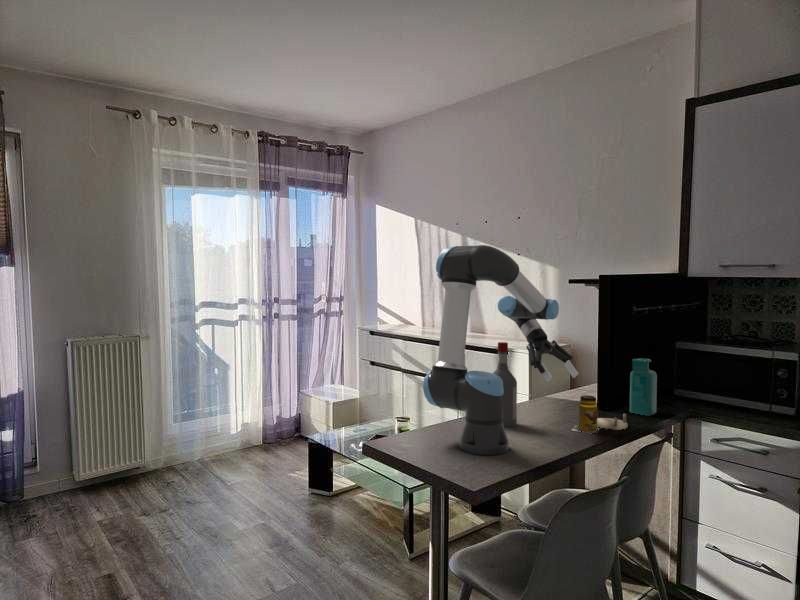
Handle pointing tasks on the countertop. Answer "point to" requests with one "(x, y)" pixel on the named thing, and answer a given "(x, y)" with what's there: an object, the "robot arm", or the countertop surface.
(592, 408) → the condiment
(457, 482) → the countertop surface
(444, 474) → the countertop surface
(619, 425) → the flange base
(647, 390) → the teal bottle
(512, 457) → the countertop surface
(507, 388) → the liquor
